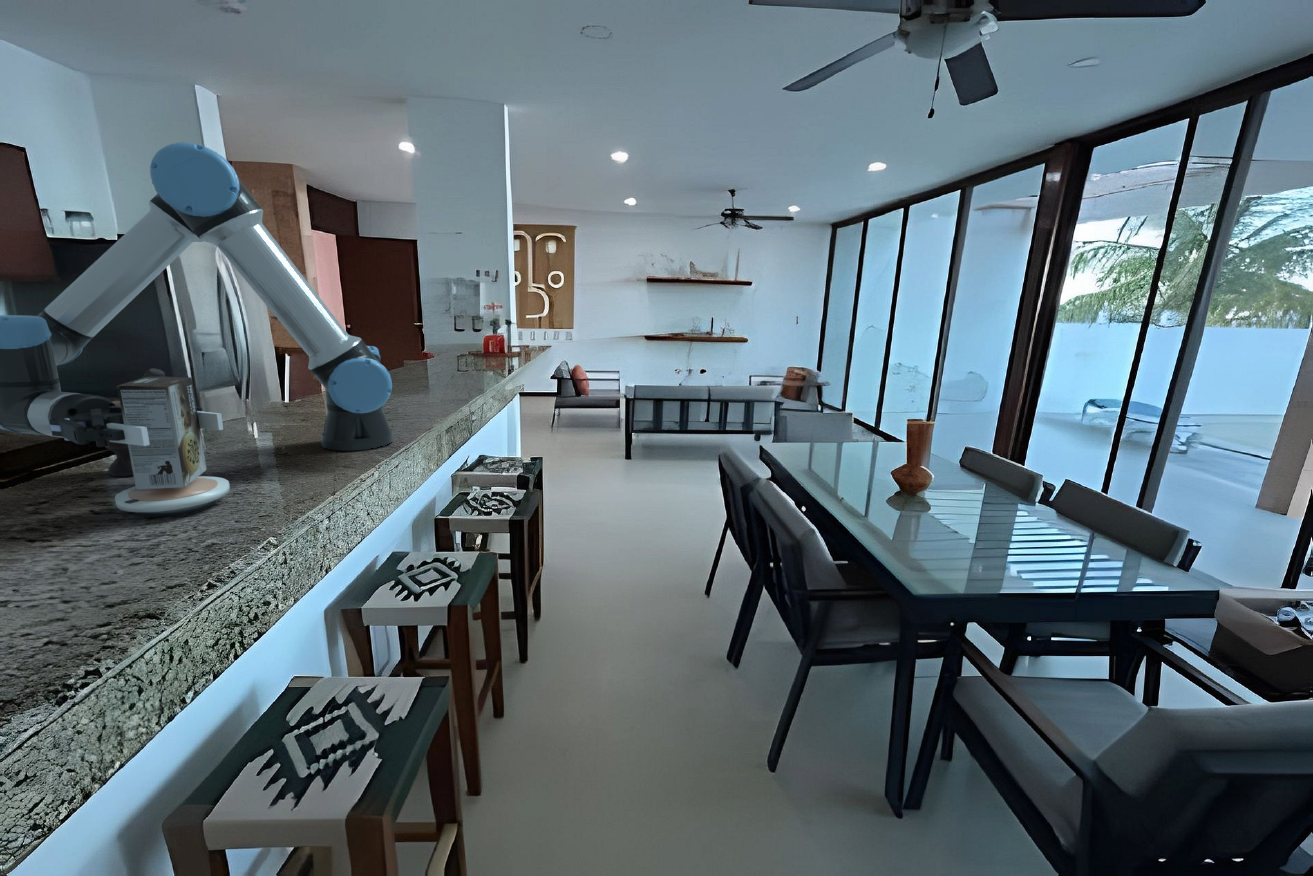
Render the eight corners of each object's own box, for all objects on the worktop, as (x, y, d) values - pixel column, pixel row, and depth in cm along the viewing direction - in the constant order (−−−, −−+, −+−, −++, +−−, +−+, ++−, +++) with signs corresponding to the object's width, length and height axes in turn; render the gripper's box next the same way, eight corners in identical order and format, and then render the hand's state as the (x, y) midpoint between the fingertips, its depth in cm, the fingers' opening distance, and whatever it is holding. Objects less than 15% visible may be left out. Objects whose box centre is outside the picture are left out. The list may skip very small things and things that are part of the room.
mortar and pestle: (192, 463, 113) (176, 364, 108) (176, 475, 105) (159, 369, 100) (117, 467, 108) (98, 364, 103) (95, 480, 100) (73, 370, 96)
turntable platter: (185, 479, 98) (184, 471, 98) (250, 488, 95) (249, 480, 95) (91, 505, 85) (89, 497, 84) (164, 517, 82) (162, 508, 82)
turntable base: (184, 493, 96) (183, 485, 96) (231, 500, 94) (230, 491, 94) (118, 513, 87) (116, 504, 86) (169, 521, 85) (168, 512, 84)
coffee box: (161, 472, 92) (144, 376, 88) (208, 470, 95) (194, 376, 91) (133, 490, 84) (113, 384, 80) (185, 487, 86) (169, 384, 82)
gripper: (156, 425, 103) (255, 436, 98) (-15, 455, 81) (103, 472, 76) (149, 384, 101) (249, 394, 96) (-27, 405, 79) (92, 418, 75)
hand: (185, 428), depth 86 cm, fingers closed on coffee box, 11 cm apart
